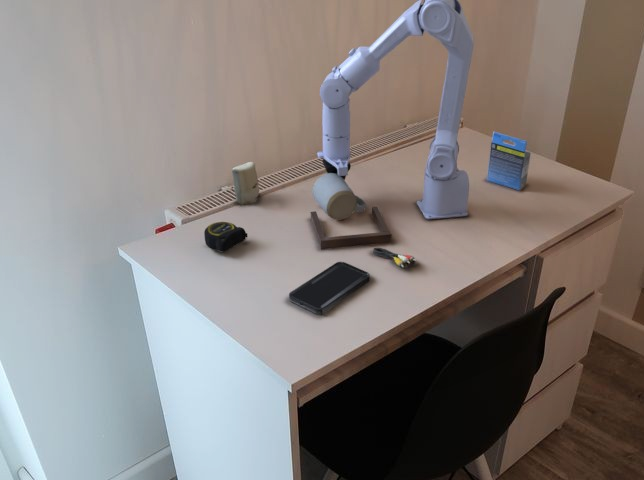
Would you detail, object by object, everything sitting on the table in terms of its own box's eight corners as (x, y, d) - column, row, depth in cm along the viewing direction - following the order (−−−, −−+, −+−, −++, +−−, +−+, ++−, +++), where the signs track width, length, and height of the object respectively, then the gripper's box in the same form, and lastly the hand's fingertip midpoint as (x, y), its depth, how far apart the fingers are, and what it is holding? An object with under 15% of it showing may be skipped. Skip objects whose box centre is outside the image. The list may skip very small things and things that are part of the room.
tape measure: (223, 258, 138) (221, 241, 136) (198, 247, 141) (195, 230, 139) (248, 244, 143) (247, 227, 141) (223, 233, 146) (221, 216, 143)
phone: (372, 274, 134) (319, 310, 124) (372, 279, 135) (320, 316, 125) (339, 260, 137) (285, 294, 127) (339, 265, 138) (286, 299, 128)
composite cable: (370, 253, 142) (370, 242, 141) (388, 245, 145) (388, 235, 143) (403, 275, 137) (403, 264, 135) (421, 266, 139) (422, 255, 138)
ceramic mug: (327, 225, 150) (327, 191, 145) (311, 207, 156) (311, 174, 151) (372, 216, 155) (374, 183, 150) (356, 199, 160) (357, 167, 155)
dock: (376, 214, 155) (377, 206, 154) (391, 242, 146) (391, 234, 145) (310, 220, 152) (310, 211, 150) (320, 249, 143) (320, 240, 141)
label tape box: (526, 185, 170) (534, 135, 163) (519, 191, 167) (527, 141, 160) (493, 175, 174) (500, 126, 166) (485, 181, 171) (492, 131, 163)
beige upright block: (239, 192, 160) (236, 159, 155) (262, 194, 160) (260, 160, 155) (233, 204, 155) (230, 170, 150) (257, 206, 155) (254, 171, 150)
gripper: (311, 120, 154) (312, 178, 163) (323, 148, 143) (324, 208, 152) (343, 119, 156) (343, 176, 164) (358, 146, 145) (357, 206, 153)
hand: (336, 192), depth 158 cm, fingers closed
